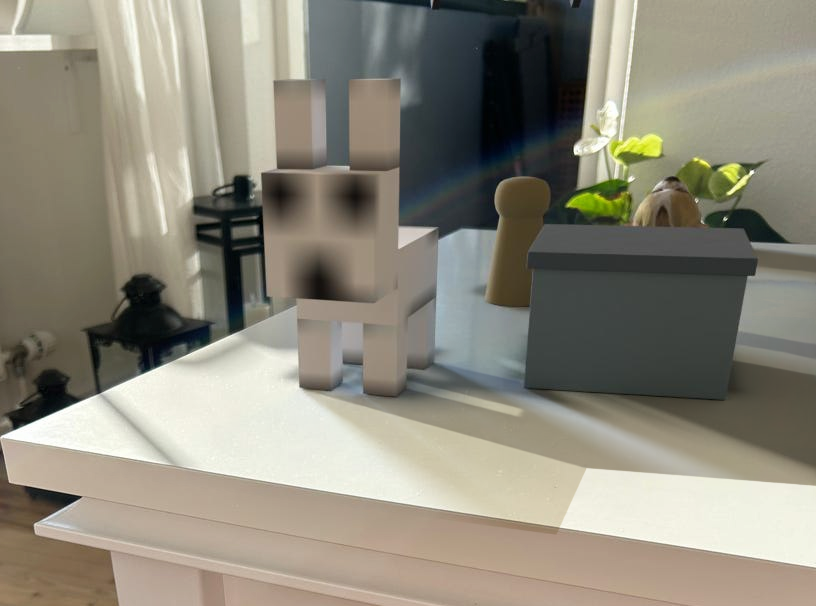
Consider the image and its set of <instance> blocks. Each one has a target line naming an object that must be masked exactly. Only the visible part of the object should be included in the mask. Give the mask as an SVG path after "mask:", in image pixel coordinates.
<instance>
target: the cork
mask: <svg viewBox="0 0 816 606" xmlns="http://www.w3.org/2000/svg"><path fill="white" fill-rule="evenodd" d="M550 188H551V187H550V186H549V184H548V182H547V181H546V180H545V179H541V178H539V177H534V176H514V177H510V178H505V179H503V180H502V181H500V182H499V183H498V185H497V187H496V190H495V193H494V206H495V210H496V212H497V214H498V215H499V219H498V224H497V228H496V235H495V240H494V245H493V251H492V257H491V263H490V267H489V268H490V269H489V274H488V278H487V285H486V290H485V295H484V301H485V302H487V303H489V304H493V305H498V306H506V307H530V300H531V287H532V274H533V269H527V256H528V251H529V250H530V248H531V246H532V245H533V243H534V241H535V240H536V238H537V236H538V235H539V233H540V231H541V230H542V228H543V227H544V216H545V214H546V213H547V211H548V210H549V207H550V203H551V189H550Z"/></svg>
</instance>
